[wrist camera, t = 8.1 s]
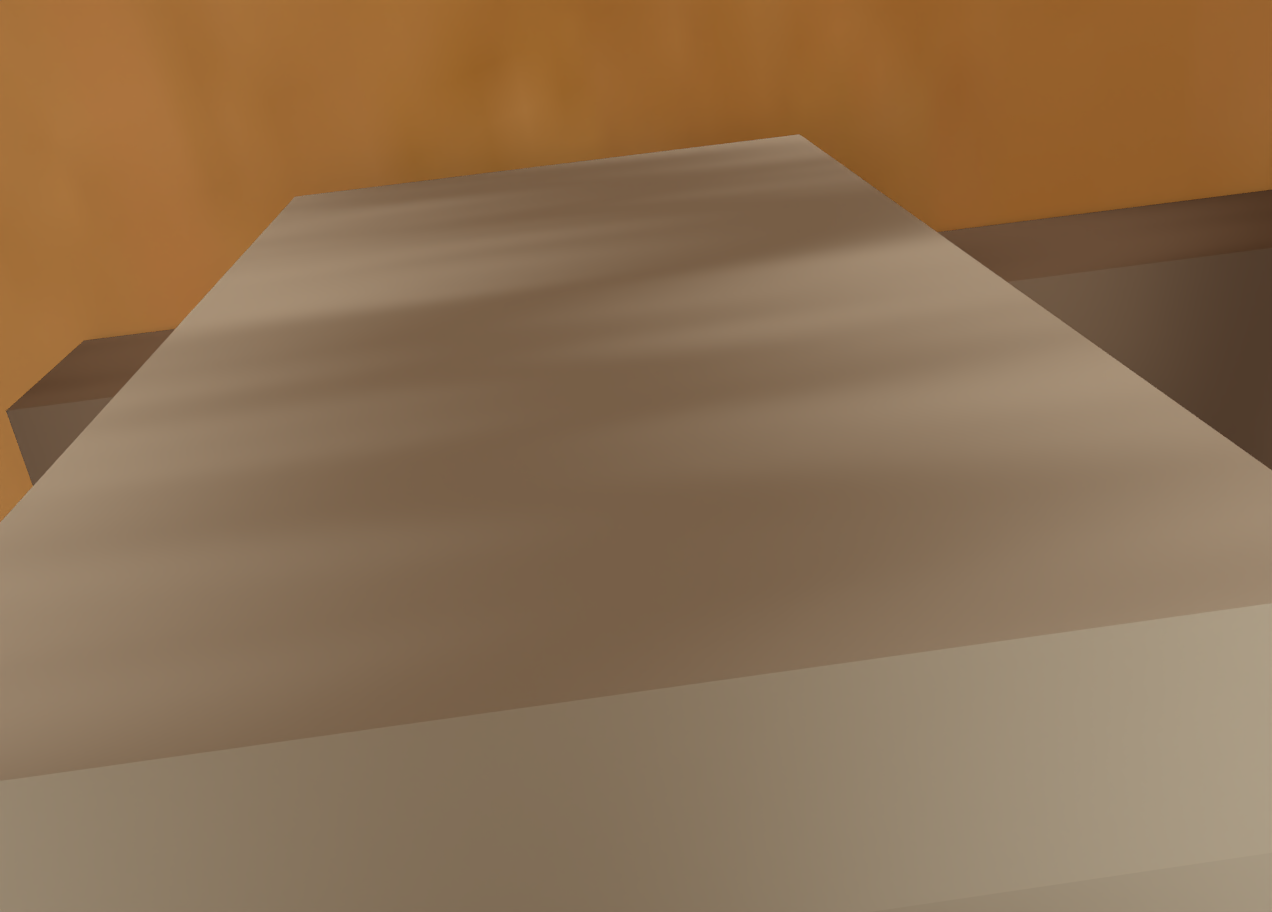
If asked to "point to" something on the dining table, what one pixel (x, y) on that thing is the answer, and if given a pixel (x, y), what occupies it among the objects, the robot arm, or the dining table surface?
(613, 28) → the dining table surface
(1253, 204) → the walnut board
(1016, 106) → the dining table surface
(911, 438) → the block
